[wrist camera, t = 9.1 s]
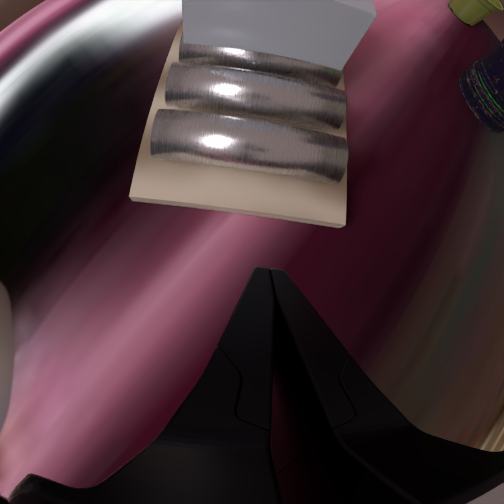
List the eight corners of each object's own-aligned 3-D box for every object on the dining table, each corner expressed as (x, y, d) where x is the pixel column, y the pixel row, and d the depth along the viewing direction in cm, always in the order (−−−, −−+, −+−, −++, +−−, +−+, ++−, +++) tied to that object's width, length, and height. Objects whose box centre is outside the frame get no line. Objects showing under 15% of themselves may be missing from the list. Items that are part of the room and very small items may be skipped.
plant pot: (442, -8, 34) (462, -33, 26) (478, 22, 35) (501, 0, 26) (438, 6, 33) (462, -22, 24) (479, 40, 33) (505, 16, 25)
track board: (339, 228, 24) (345, 225, 23) (132, 200, 22) (129, 196, 21) (336, 41, 27) (340, 34, 26) (187, 15, 25) (187, 7, 24)
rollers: (328, 191, 23) (348, 175, 20) (155, 166, 21) (147, 145, 18) (327, 38, 25) (339, 15, 22) (198, 16, 24) (199, -10, 20)
